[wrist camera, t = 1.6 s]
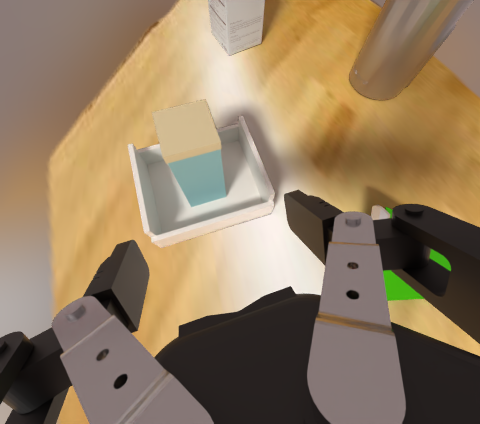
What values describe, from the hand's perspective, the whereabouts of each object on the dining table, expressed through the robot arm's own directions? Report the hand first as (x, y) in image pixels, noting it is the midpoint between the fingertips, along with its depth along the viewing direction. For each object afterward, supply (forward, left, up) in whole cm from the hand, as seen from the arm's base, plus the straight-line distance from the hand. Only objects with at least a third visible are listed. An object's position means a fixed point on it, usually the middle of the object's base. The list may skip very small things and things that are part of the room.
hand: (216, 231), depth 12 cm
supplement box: (-14, -41, -18) cm, 47 cm away
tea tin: (0, -12, -17) cm, 21 cm away
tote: (0, -12, -18) cm, 21 cm away
